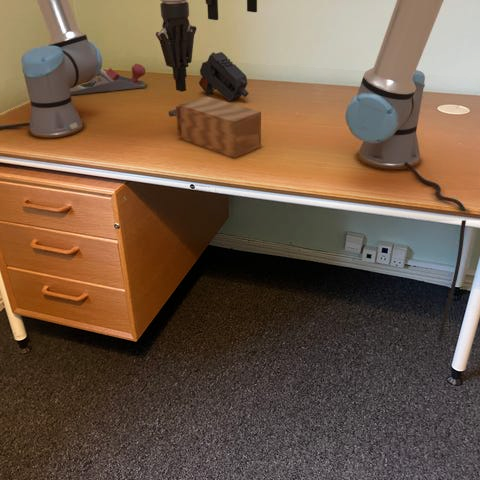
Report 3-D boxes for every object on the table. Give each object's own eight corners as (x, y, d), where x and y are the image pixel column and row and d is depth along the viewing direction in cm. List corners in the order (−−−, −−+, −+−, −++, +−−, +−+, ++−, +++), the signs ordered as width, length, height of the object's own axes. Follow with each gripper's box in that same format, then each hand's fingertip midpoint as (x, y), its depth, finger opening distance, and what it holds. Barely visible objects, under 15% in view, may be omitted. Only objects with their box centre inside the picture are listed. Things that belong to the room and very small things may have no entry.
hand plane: (62, 90, 197) (53, 48, 189) (145, 82, 205) (140, 41, 197) (62, 96, 191) (54, 53, 184) (148, 87, 199) (143, 45, 191)
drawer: (165, 129, 158) (163, 102, 154) (188, 121, 164) (186, 95, 160) (227, 151, 143) (226, 121, 139) (250, 141, 149) (250, 112, 144)
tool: (204, 81, 194) (218, 46, 183) (240, 115, 190) (257, 82, 179) (193, 84, 190) (206, 49, 179) (229, 120, 186) (245, 86, 175)
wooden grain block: (181, 139, 154) (178, 105, 149) (207, 129, 160) (205, 96, 155) (235, 158, 141) (234, 121, 136) (260, 146, 148) (261, 111, 142)
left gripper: (183, -3, 147) (189, 83, 160) (145, 3, 139) (155, 92, 152) (201, -1, 143) (206, 87, 155) (164, 5, 135) (172, 98, 147)
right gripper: (255, -89, 128) (255, 7, 139) (177, -86, 112) (184, 21, 124) (279, -89, 123) (278, 10, 134) (201, -87, 108) (206, 24, 119)
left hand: (181, 90), depth 153 cm, fingers closed
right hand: (233, 15), depth 129 cm, fingers open, 13 cm apart
